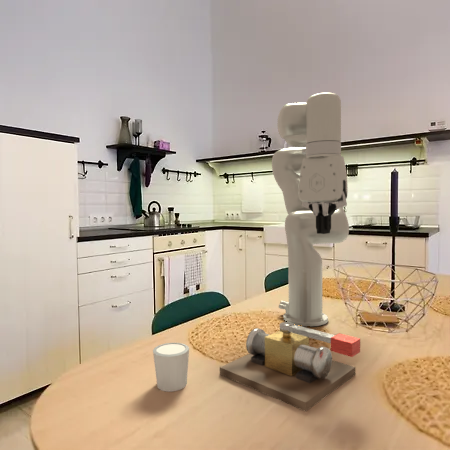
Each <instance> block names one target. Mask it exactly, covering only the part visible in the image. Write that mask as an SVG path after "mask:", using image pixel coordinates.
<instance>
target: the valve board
mask: <svg viewBox="0 0 450 450" xmlns="http://www.w3.org/2000/svg"><path fill="white" fill-rule="evenodd" d="M252 356H254V355H251V354H249V353H248V354H246V355H244V356H242V357H239V358H236V359H235V360H232V361H230V362H228V363H225V364H223V365H221V366H219V375H220V376H222V377H225V378H227V379H229V380H232V381H234V382H237V383H239V384H241V385H243V386H246V387H248V388H251V389H253V390H255V391H258V392H260V393H262V394H264V395H267V396H269V397H271V398H273V399H276V400H278V401H280V402H283V403H285V404H288V405H290V406H293V407H294V408H297V409H299V410H302V411H304V412H307V411H309V410H310V409H311V408H312V407H314V406H316V405H317V404H318V403H319V402H321V401H322V400H323V399H324V398H326V397H327V396H329V395H330V394H332V393H333V392H334V391H335V390H337V389H338V388H340V386H342V385H343V384H345V383H346V382H347V381H348V380H350V379H351V378H353V377H354V376H355V375H356V366H352V365H349V364H346V363H343V362H340V361H337V360H333V359H332V364H331V368H330V371H329V373H328V375H327V376H326V377H325V378H324V379H320V378H318V379H316V380H315V381H313V382H311V383H308V382H305V381H302V380H300V379H297V378H296V374H295V375H293V376H290V375H287V374H284V373H282V372H279V371H276V370H273V369H271V368H268V367H265V365H263V366H261V365H259V364H256V363H253V362H251V357H252Z"/></svg>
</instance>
